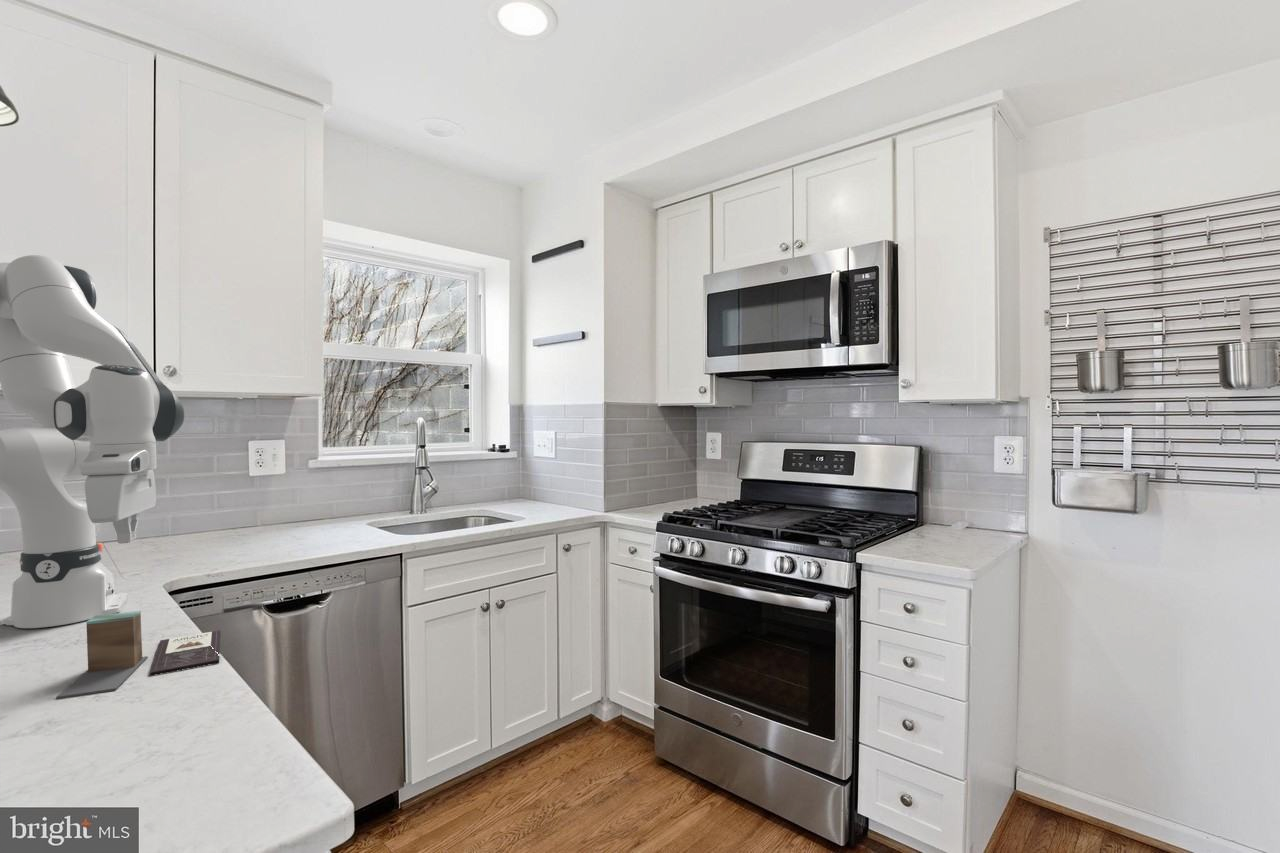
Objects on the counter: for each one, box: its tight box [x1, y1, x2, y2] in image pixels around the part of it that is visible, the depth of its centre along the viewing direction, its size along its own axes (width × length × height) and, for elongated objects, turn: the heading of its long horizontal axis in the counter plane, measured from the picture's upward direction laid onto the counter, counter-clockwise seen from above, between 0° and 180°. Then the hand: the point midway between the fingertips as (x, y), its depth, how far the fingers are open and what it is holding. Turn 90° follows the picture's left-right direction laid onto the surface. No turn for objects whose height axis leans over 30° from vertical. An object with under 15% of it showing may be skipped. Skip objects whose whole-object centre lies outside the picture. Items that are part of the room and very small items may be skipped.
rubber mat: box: [55, 655, 149, 700], centre depth 101 cm, size 14×7×1 cm, turn 22°
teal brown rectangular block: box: [85, 610, 143, 673], centre depth 104 cm, size 4×6×8 cm, turn 112°
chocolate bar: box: [149, 630, 222, 676], centre depth 111 cm, size 9×1×18 cm
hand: (127, 541), depth 111 cm, fingers closed
